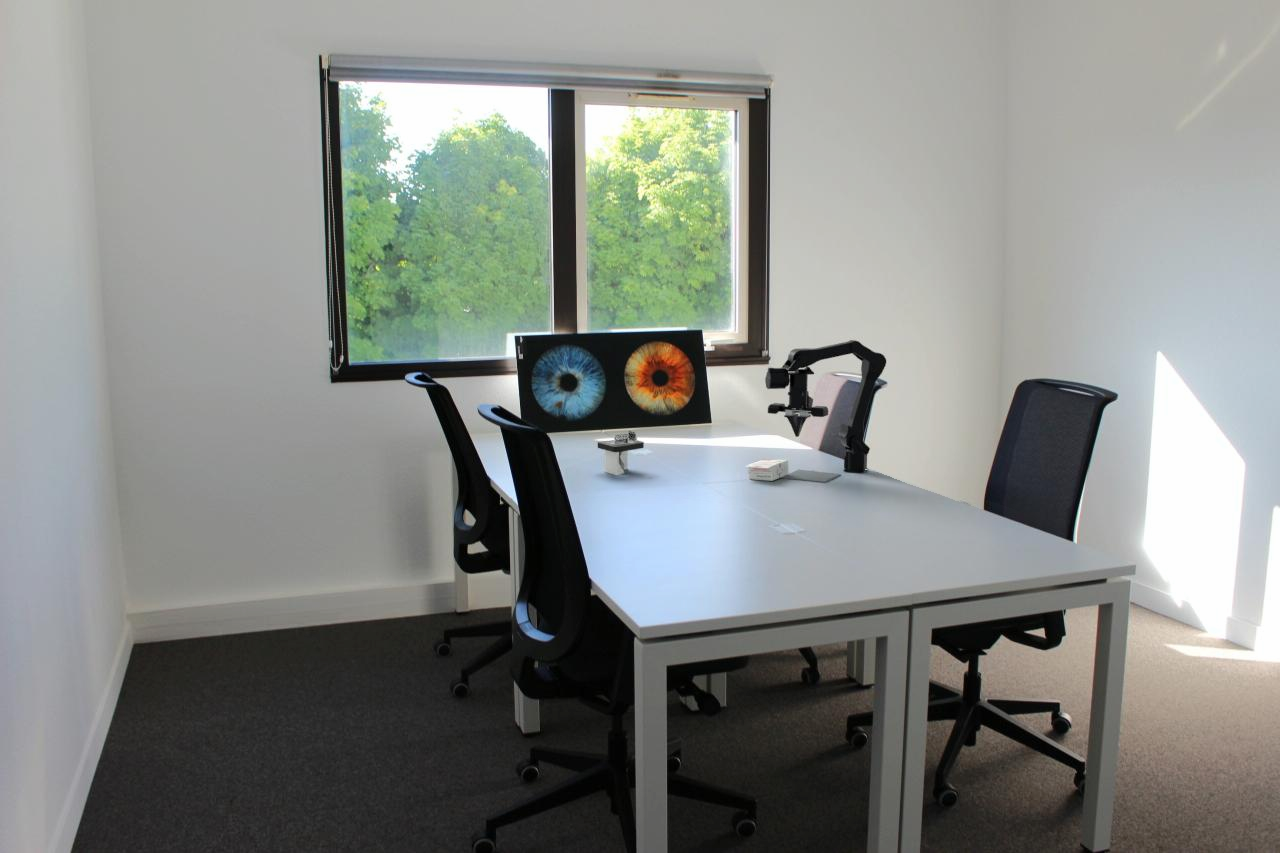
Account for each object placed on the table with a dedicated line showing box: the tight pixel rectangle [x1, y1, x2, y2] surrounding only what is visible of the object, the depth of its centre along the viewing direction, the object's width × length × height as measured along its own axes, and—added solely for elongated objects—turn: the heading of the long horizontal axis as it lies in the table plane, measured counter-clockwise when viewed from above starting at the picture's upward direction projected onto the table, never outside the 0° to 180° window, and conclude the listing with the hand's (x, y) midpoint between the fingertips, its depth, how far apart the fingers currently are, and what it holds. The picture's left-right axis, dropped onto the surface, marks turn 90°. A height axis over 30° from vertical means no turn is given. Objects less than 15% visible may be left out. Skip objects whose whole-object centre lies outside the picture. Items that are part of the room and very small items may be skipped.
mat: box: [781, 469, 841, 484], centre depth 347 cm, size 14×14×1 cm
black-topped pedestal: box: [597, 430, 645, 476], centre depth 353 cm, size 28×26×13 cm
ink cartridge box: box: [745, 458, 790, 482], centre depth 344 cm, size 9×5×15 cm
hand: (797, 436), depth 351 cm, fingers closed
